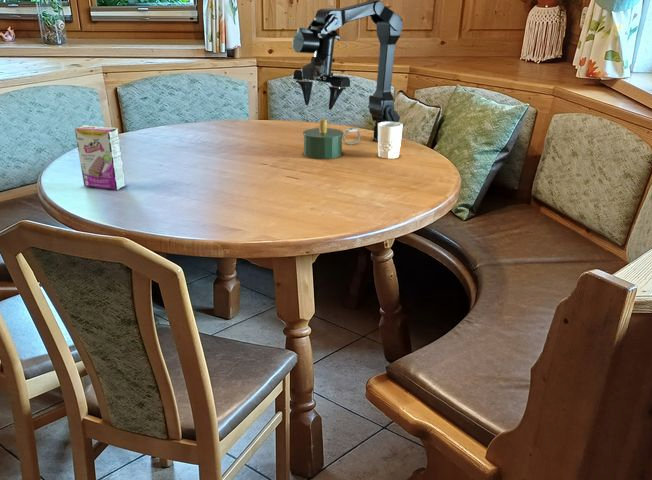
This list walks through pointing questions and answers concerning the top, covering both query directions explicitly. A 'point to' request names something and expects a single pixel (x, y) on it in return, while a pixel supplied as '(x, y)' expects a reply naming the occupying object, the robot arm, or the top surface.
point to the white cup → (389, 139)
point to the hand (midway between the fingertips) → (318, 107)
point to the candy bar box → (100, 157)
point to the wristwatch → (351, 131)
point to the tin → (322, 148)
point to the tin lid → (323, 131)
